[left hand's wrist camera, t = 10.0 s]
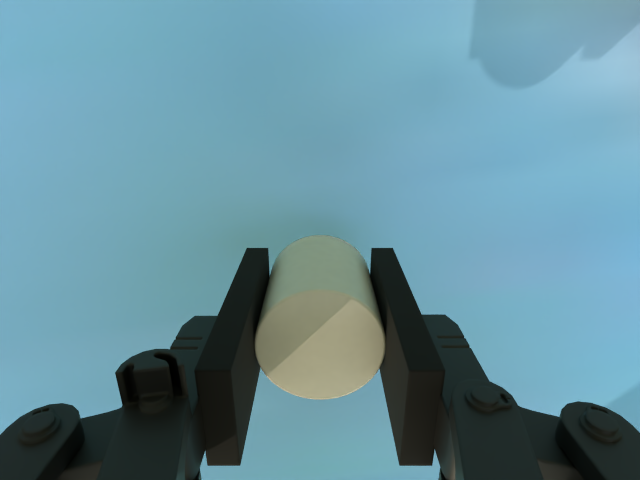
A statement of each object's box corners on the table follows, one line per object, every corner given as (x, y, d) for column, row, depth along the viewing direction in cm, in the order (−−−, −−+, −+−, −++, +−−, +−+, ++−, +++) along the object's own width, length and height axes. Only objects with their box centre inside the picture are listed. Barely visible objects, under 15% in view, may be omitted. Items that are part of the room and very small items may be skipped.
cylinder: (266, 236, 14) (246, 292, 11) (369, 232, 14) (388, 287, 11) (274, 324, 16) (260, 402, 12) (369, 320, 16) (385, 398, 12)
